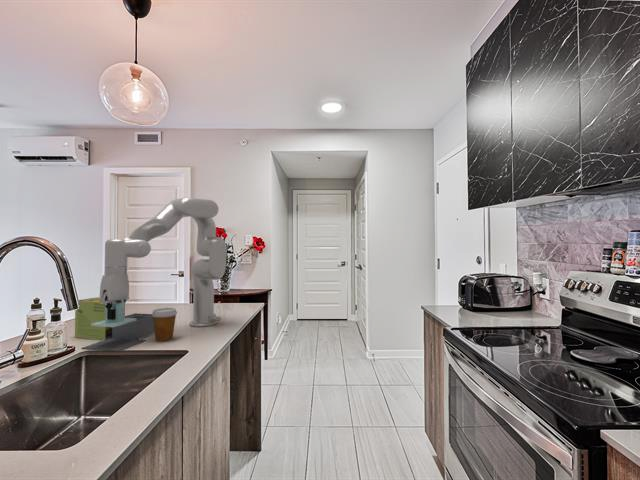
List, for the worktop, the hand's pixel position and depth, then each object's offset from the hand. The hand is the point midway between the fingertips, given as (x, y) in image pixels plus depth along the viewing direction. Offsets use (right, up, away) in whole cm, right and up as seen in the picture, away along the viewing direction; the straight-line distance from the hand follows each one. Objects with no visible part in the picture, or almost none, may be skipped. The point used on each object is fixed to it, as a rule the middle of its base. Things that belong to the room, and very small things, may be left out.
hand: (115, 318), depth 128 cm
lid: (0, -2, 0) cm, 2 cm away
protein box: (-14, -11, +13) cm, 22 cm away
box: (0, -10, +13) cm, 17 cm away
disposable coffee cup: (+16, -11, +7) cm, 20 cm away
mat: (0, -10, 0) cm, 10 cm away
